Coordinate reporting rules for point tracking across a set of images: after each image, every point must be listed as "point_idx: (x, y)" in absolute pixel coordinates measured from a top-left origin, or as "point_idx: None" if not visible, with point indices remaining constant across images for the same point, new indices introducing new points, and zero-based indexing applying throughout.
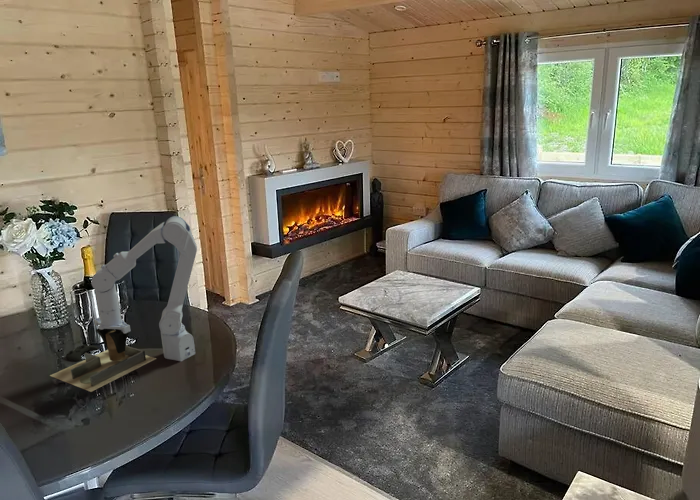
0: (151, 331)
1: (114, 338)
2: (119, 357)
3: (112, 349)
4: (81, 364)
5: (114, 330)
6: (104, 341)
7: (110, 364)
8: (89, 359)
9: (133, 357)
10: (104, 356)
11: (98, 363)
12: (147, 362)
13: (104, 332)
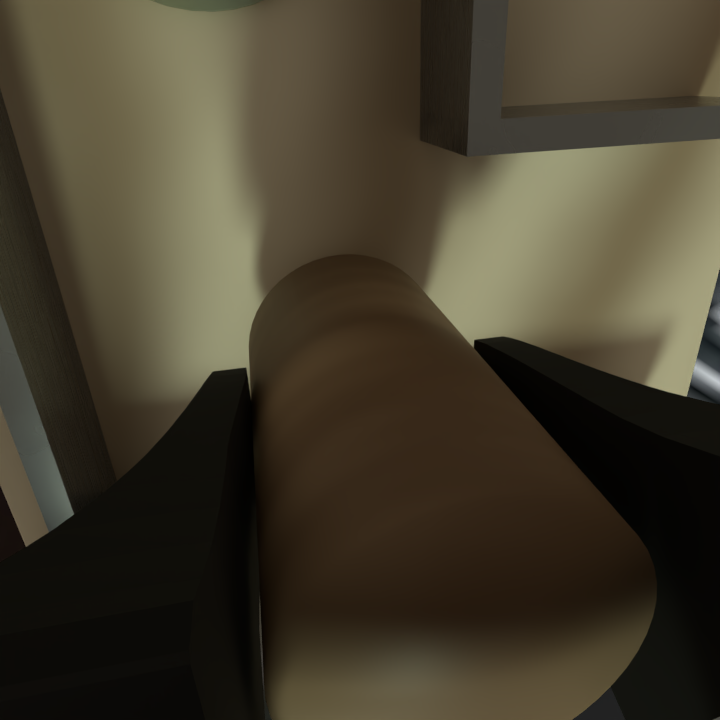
0: (608, 705)
1: (41, 566)
2: (252, 344)
3: (306, 346)
4: (706, 22)
5: (622, 695)
6: (592, 384)
7: (357, 233)
8: (650, 103)
9: (24, 444)
10: (599, 305)
11: (438, 107)
12: (18, 494)
13: (718, 553)
